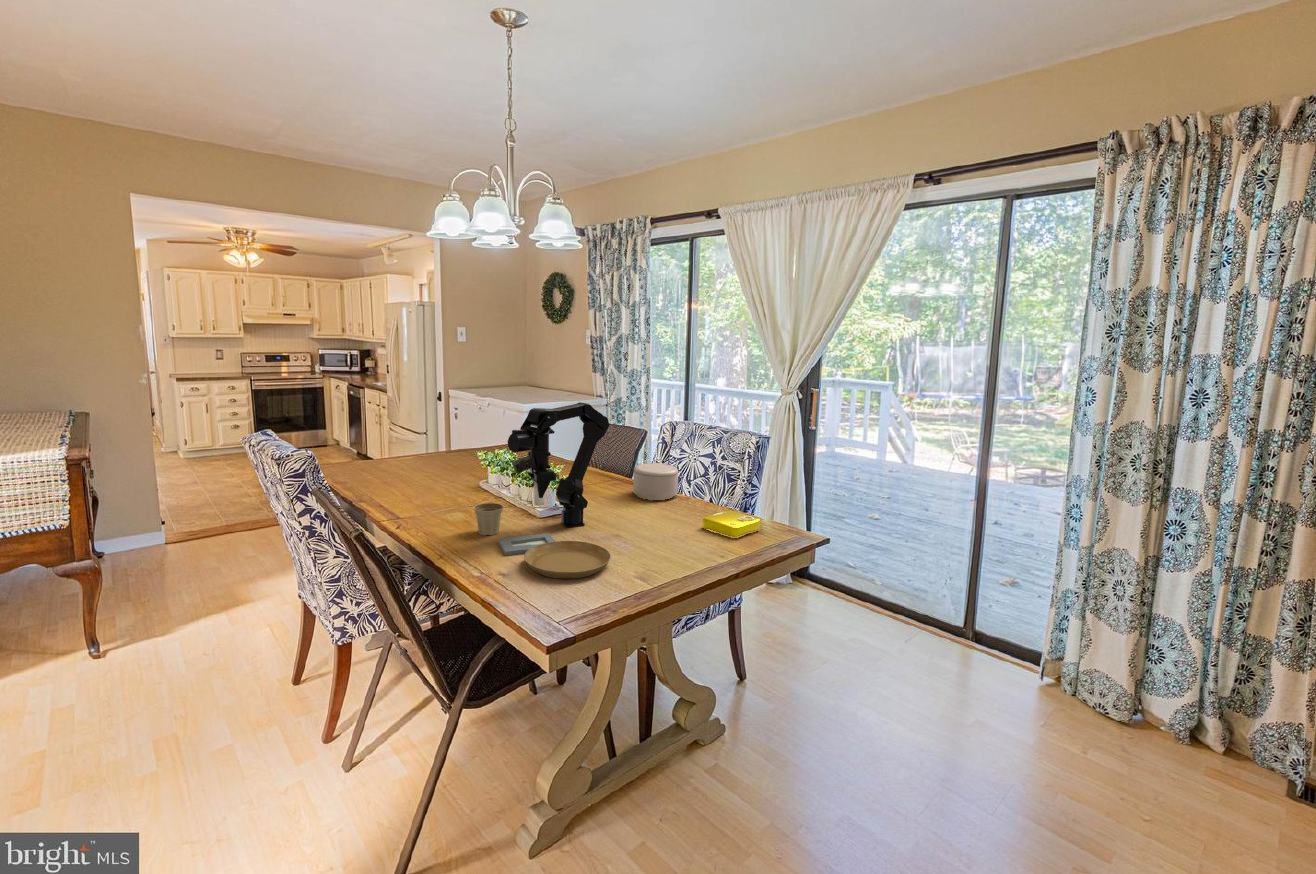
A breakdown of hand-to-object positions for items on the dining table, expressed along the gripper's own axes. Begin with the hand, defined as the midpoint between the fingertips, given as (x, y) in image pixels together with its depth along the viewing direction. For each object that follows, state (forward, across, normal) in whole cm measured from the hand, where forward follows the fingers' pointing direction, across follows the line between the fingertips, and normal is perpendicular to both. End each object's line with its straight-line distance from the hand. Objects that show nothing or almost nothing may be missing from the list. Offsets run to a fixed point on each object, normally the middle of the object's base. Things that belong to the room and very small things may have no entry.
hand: (539, 496), depth 198 cm
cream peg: (+2, 0, 0) cm, 2 cm away
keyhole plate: (+12, +10, -6) cm, 17 cm away
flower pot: (+13, -6, -15) cm, 21 cm away
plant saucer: (+13, +28, +1) cm, 31 cm away
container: (+13, -31, +55) cm, 65 cm away
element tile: (+13, +16, +62) cm, 66 cm away
